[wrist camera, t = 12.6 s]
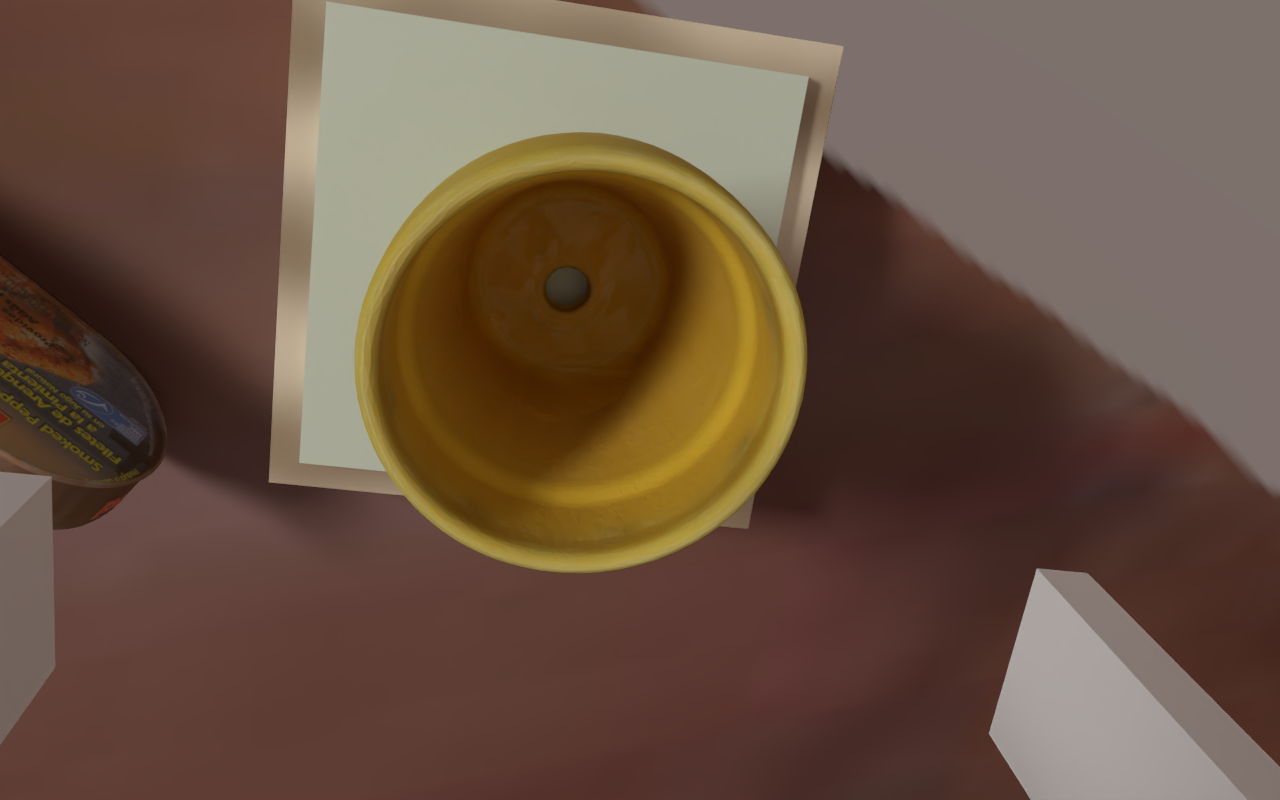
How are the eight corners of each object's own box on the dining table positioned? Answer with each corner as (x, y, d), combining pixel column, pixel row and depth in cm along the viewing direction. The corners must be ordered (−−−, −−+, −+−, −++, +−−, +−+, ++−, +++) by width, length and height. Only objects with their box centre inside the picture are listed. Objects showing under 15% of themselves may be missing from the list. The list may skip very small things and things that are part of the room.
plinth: (316, -37, 35) (291, -43, 31) (815, 42, 37) (848, 47, 33) (289, 443, 40) (265, 488, 36) (730, 487, 42) (750, 535, 38)
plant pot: (630, 487, 37) (666, 644, 28) (341, 344, 35) (274, 465, 25) (797, 214, 35) (896, 287, 25) (498, 38, 32) (488, 49, 23)
